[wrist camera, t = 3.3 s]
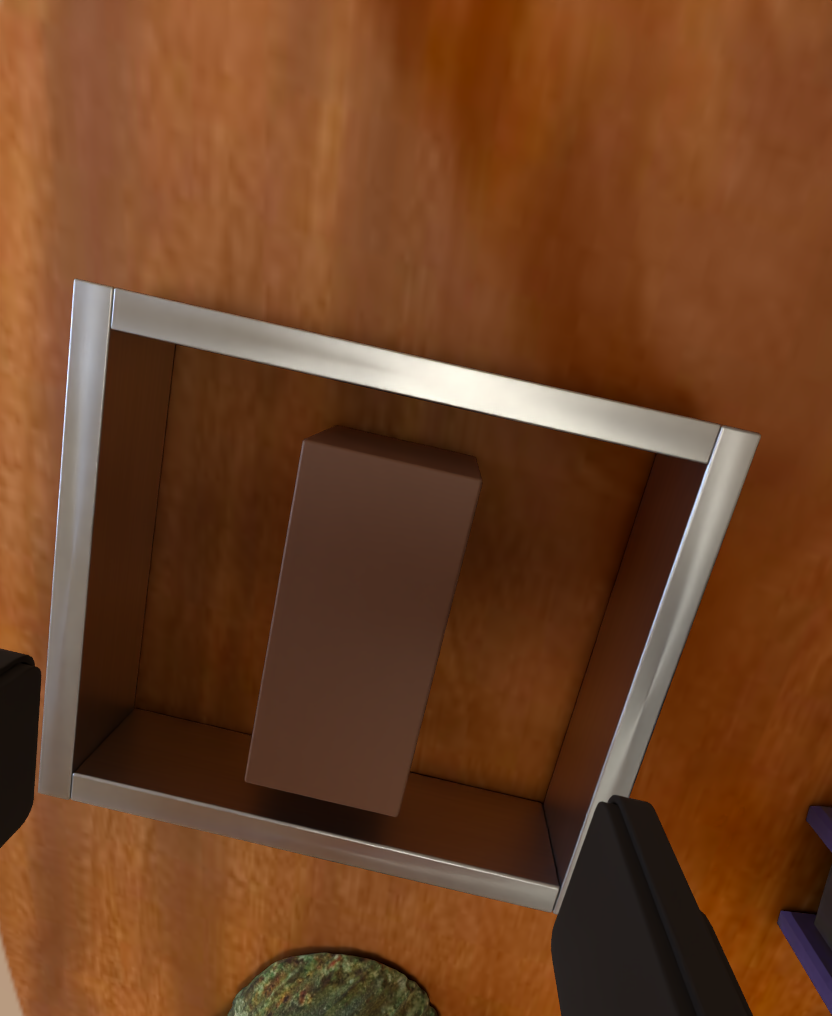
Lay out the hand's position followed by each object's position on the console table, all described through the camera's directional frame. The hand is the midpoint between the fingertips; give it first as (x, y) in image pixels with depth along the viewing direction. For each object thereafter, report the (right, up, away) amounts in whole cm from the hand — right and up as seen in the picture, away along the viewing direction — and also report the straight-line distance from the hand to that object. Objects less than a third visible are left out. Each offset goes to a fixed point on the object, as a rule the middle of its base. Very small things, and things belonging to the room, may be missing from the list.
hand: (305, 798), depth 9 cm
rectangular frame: (0, +2, +10) cm, 10 cm away
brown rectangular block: (0, +2, +10) cm, 10 cm away
